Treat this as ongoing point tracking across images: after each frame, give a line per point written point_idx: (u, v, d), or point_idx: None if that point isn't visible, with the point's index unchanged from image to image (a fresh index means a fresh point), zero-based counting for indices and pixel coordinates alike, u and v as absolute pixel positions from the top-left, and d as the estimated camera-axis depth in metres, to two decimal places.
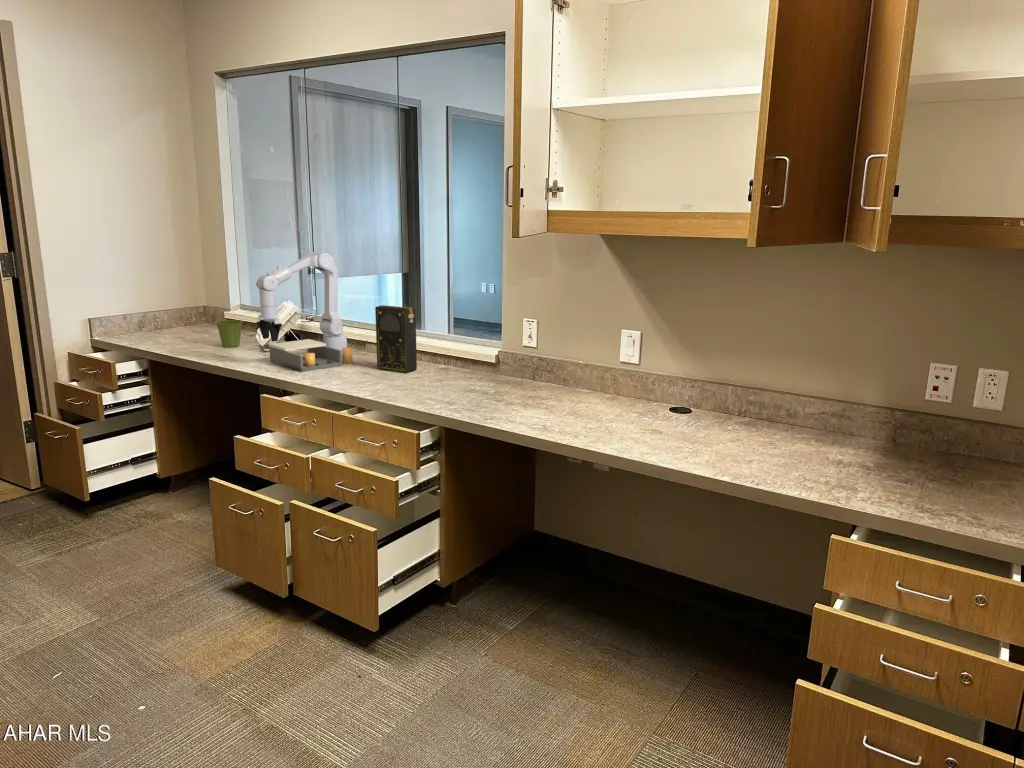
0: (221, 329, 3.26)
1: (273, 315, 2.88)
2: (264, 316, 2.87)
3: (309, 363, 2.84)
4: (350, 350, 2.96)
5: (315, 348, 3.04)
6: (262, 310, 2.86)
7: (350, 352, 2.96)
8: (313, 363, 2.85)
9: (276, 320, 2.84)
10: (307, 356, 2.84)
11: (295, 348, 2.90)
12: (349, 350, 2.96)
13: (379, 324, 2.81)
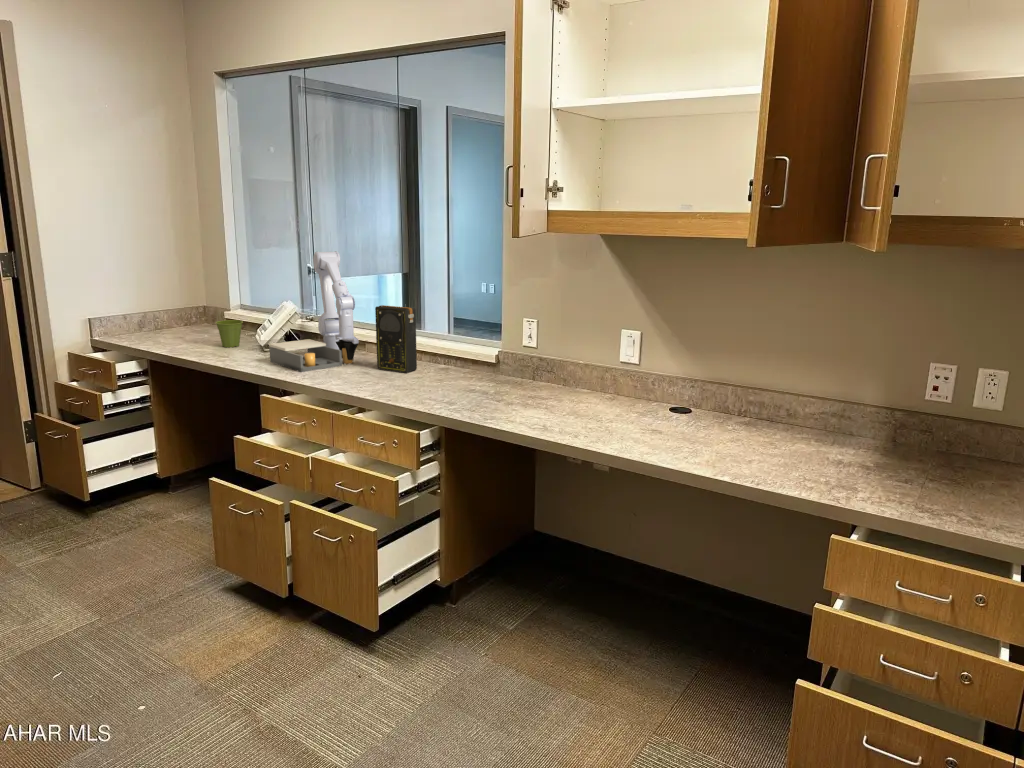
0: (221, 329, 3.26)
1: (351, 335, 2.95)
2: (343, 336, 2.93)
3: (309, 363, 2.84)
4: None
5: (315, 348, 3.04)
6: (341, 330, 2.93)
7: None
8: (313, 363, 2.85)
9: (355, 340, 2.91)
10: (307, 356, 2.84)
11: (295, 348, 2.90)
12: None
13: (379, 324, 2.81)
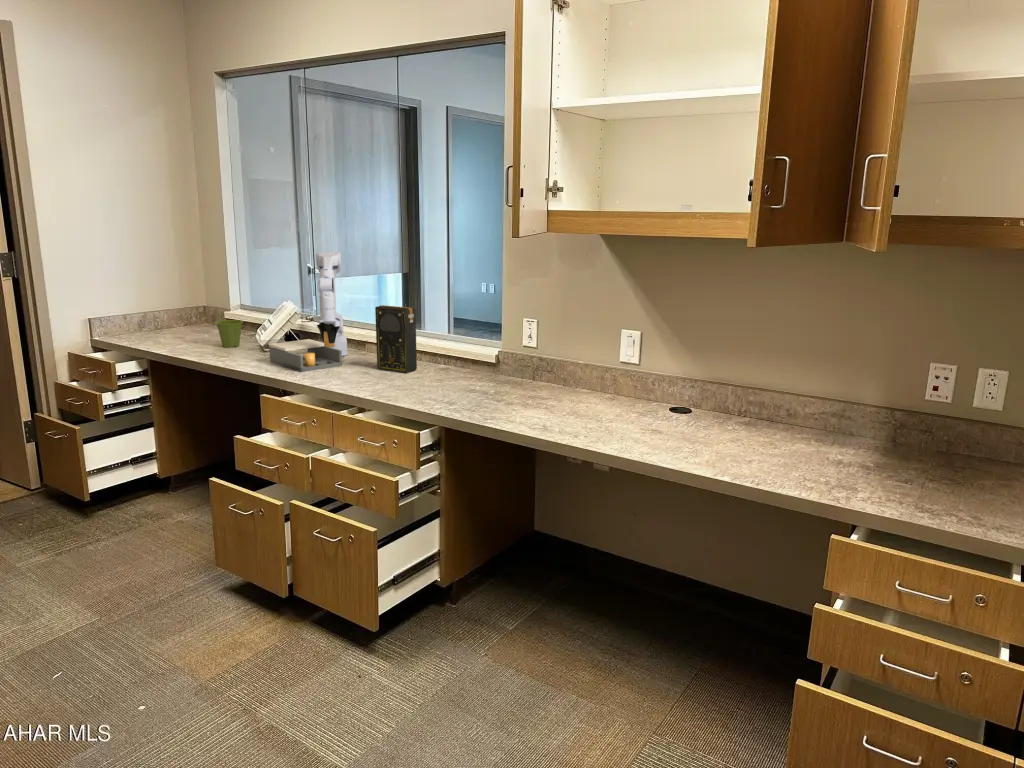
0: (221, 329, 3.26)
1: (333, 317, 2.87)
2: (324, 318, 2.86)
3: (309, 363, 2.84)
4: None
5: (315, 348, 3.04)
6: (322, 312, 2.85)
7: None
8: (313, 363, 2.85)
9: (336, 322, 2.83)
10: (307, 356, 2.84)
11: (295, 348, 2.90)
12: None
13: (379, 324, 2.81)
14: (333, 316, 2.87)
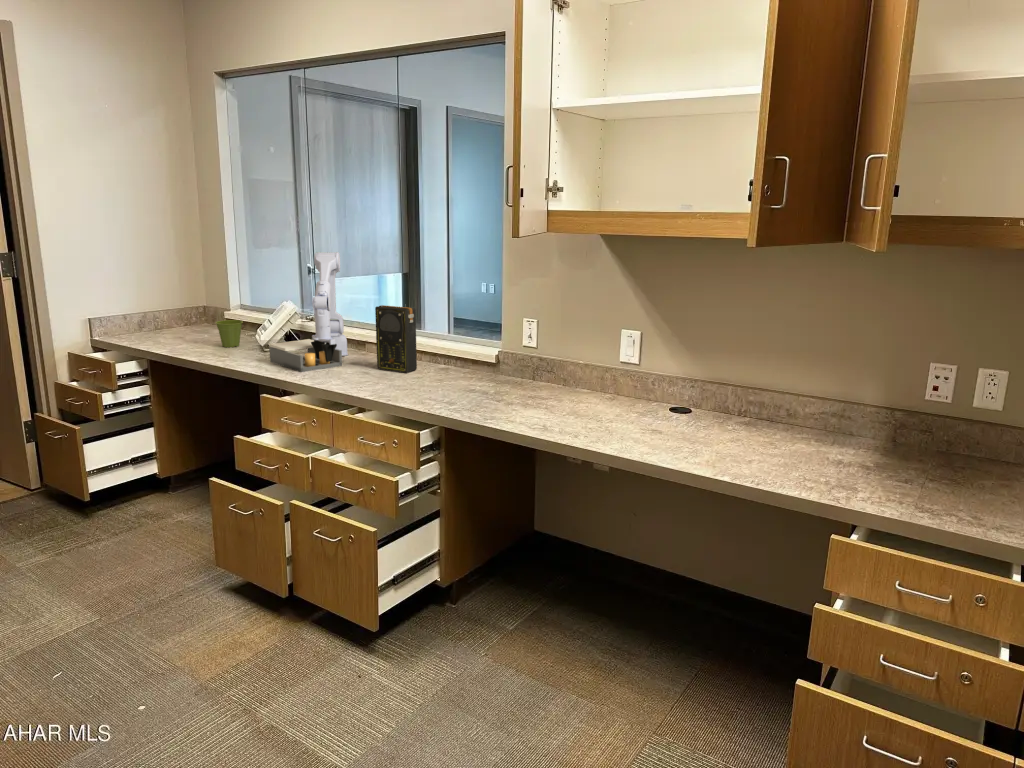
0: (221, 329, 3.26)
1: (328, 335, 2.87)
2: (319, 336, 2.86)
3: (309, 363, 2.84)
4: None
5: None
6: (317, 330, 2.85)
7: None
8: (313, 363, 2.85)
9: (332, 341, 2.83)
10: (307, 356, 2.84)
11: (295, 348, 2.90)
12: None
13: (379, 324, 2.81)
14: (328, 334, 2.87)
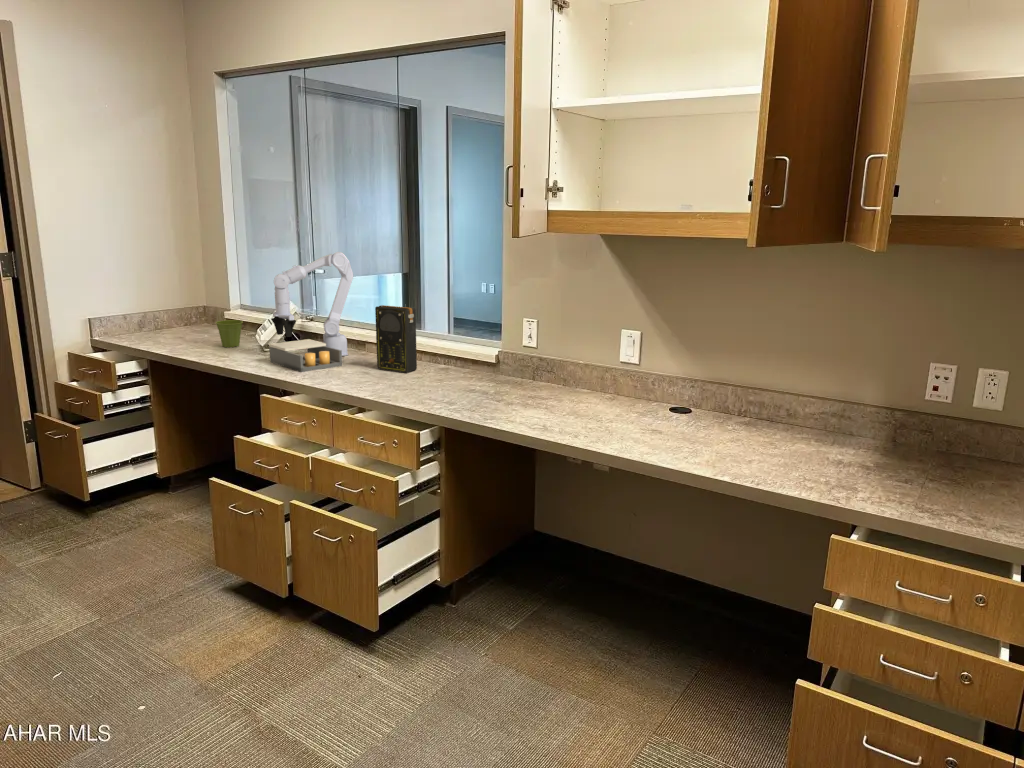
0: (221, 329, 3.26)
1: (287, 312, 3.02)
2: (279, 313, 3.01)
3: (308, 363, 2.84)
4: (327, 353, 2.89)
5: (315, 348, 3.04)
6: (277, 307, 3.00)
7: (327, 356, 2.89)
8: (312, 363, 2.85)
9: (290, 317, 2.98)
10: (307, 356, 2.84)
11: (295, 348, 2.90)
12: (326, 353, 2.88)
13: (379, 324, 2.81)
14: (288, 310, 3.02)
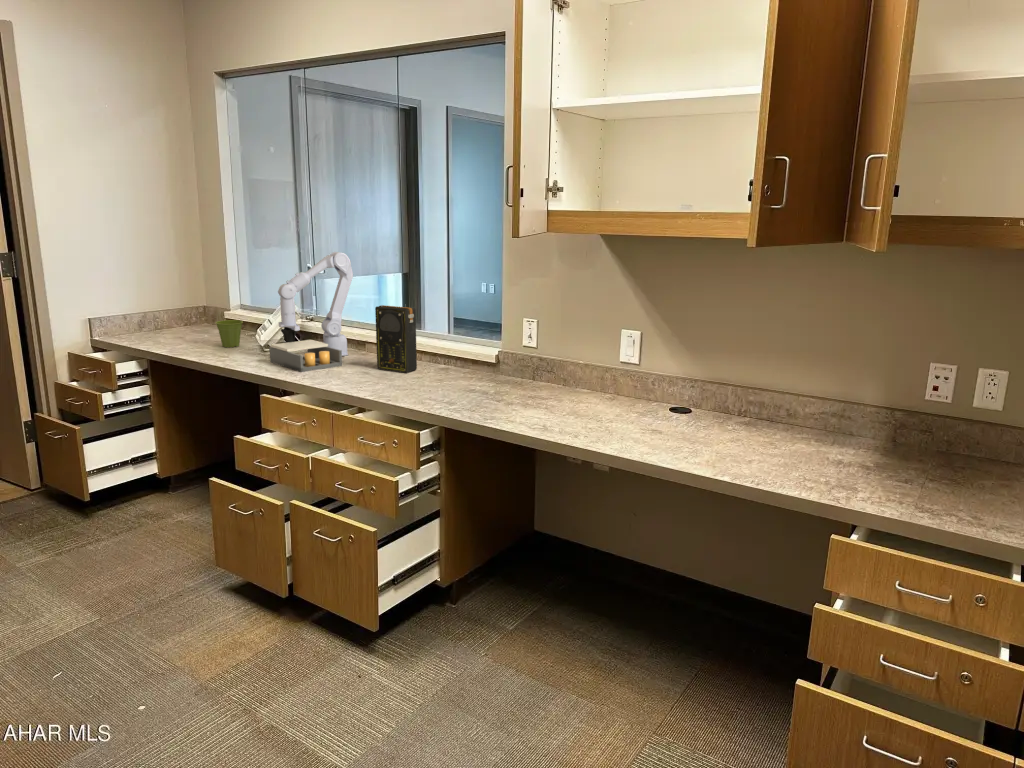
0: (221, 329, 3.26)
1: (293, 322, 2.99)
2: (284, 323, 2.98)
3: (308, 363, 2.84)
4: (327, 353, 2.89)
5: (315, 348, 3.04)
6: (283, 317, 2.98)
7: (327, 356, 2.89)
8: (312, 363, 2.85)
9: (296, 327, 2.96)
10: (306, 356, 2.84)
11: (297, 349, 2.89)
12: (326, 353, 2.88)
13: (379, 324, 2.81)
14: (293, 321, 3.00)
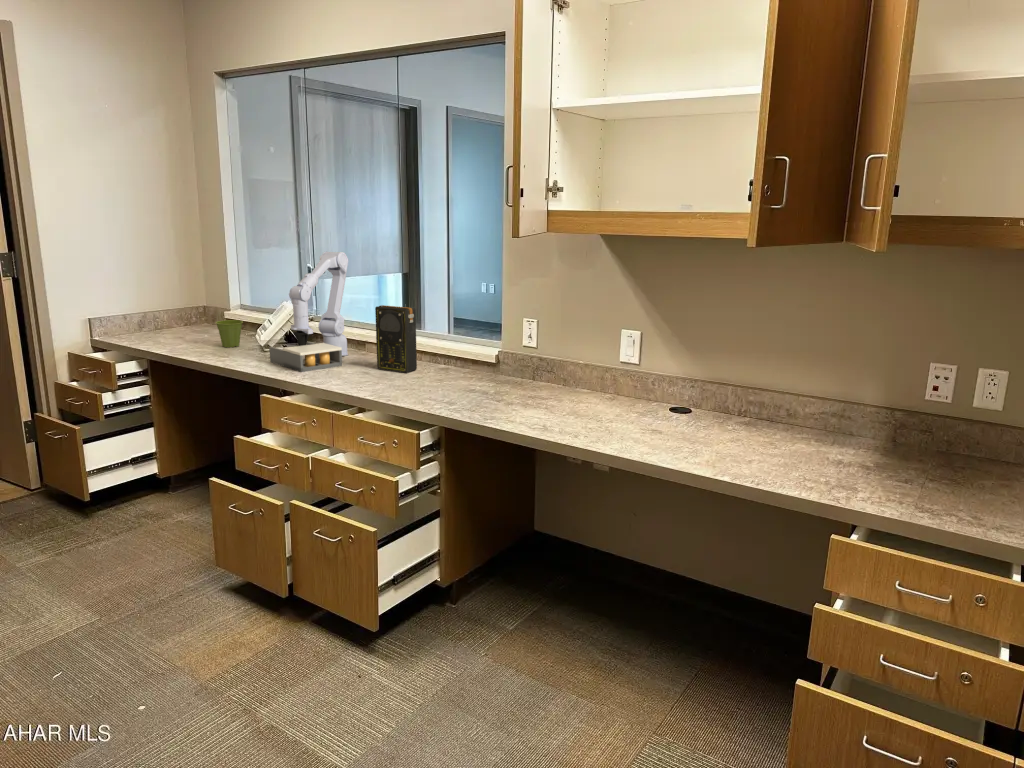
0: (221, 329, 3.26)
1: (306, 325, 2.92)
2: (297, 326, 2.91)
3: (307, 363, 2.84)
4: (327, 353, 2.89)
5: None
6: (295, 320, 2.90)
7: (327, 356, 2.89)
8: (311, 363, 2.84)
9: (309, 330, 2.88)
10: (306, 356, 2.84)
11: (310, 352, 2.82)
12: (326, 353, 2.88)
13: (379, 324, 2.81)
14: (306, 324, 2.92)
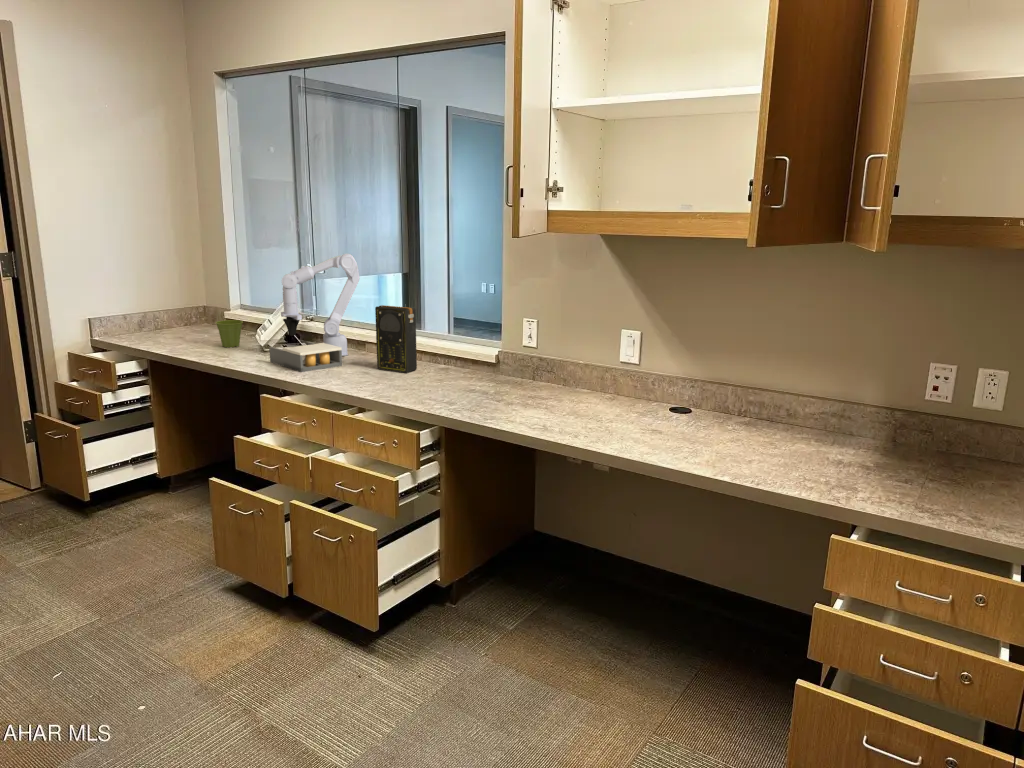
0: (221, 329, 3.26)
1: (295, 312, 3.03)
2: (287, 313, 3.02)
3: (307, 362, 2.84)
4: (327, 353, 2.89)
5: None
6: (285, 307, 3.02)
7: (327, 356, 2.89)
8: (310, 363, 2.84)
9: (298, 316, 2.99)
10: (306, 355, 2.84)
11: (310, 352, 2.82)
12: (326, 353, 2.88)
13: (379, 324, 2.81)
14: (296, 310, 3.03)
